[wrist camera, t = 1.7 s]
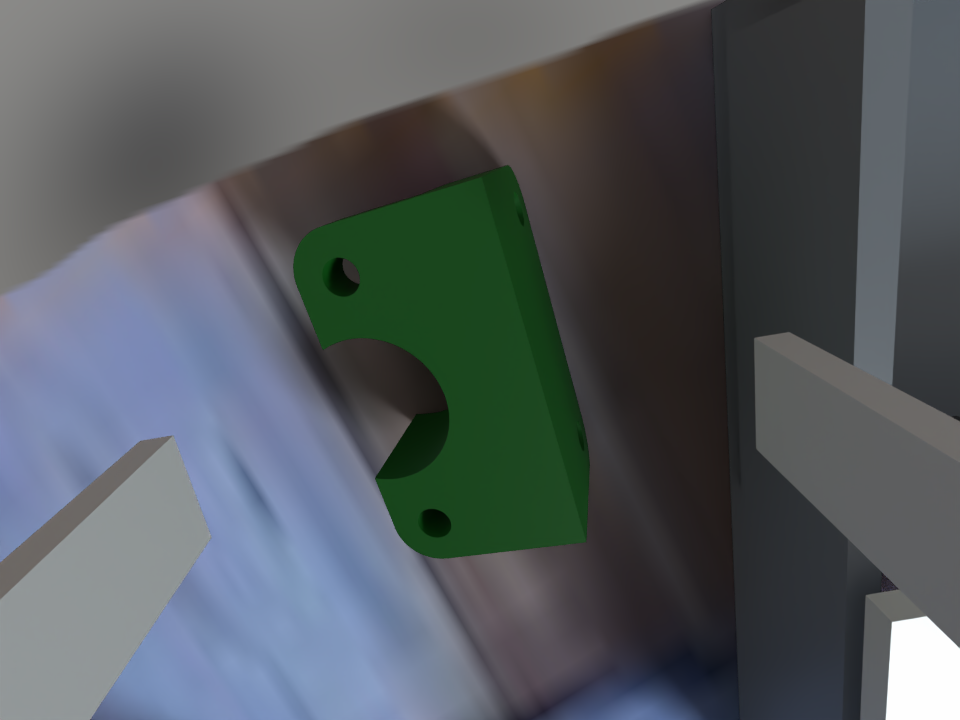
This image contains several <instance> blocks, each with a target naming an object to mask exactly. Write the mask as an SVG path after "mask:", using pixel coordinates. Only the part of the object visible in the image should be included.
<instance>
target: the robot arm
mask: <svg viewBox="0 0 960 720" xmlns="http://www.w3.org/2000/svg"><path fill="white" fill-rule="evenodd" d="M754 357H755V414H756V449H757V450H758V451H759V452H760V453H761V454H762V455H763V456H764V457H765V458H766V459H767V460H768V461H769V462H770V463H771V464H772V465H773V466H774V467H775V468H776V469H777V470H778V471H779V472H780V473H781V474H782V475H783V476H784V477H785V478H786V479H787V480H788V481H789V482H790V483H791V484H792V485H793V486H794V487H796V488H797V489H798V490H799V491H800V492H801V493H802V494H803V495H804V496H805V497H806V498H807V499H808V500H809V501H810V502H811V503H812V504H813V505H814V506H815V507H816V508H817V509H818V510H819V511H820V512H821V513H822V514H823V515H824V516H825V517H826V518H827V519H828V520H829V521H830V522H831V523H832V524H833V525H834V526H835V527H836V528H837V529H838V530H839V531H840V532H841V533H842V534H843V535H844V536H845V537H846V538H848V539H849V540H850V541H851V542H852V543H853V544H854V545H855V546H856V547H857V548H858V549H859V550H860V551H861V552H862V553H863V554H864V555H865V556H866V557H867V558H868V559H869V560H870V561H871V562H872V563H873V564H874V565H875V566H876V567H877V568H878V569H879V570H880V571H881V572H882V573H883V574H884V575H885V576H886V577H887V578H888V579H889V580H890V581H891V582H892V583H893V584H894V585H895V586H896V587H897V588H899V589H900V590H901V591H902V592H903V593H904V594H905V595H906V596H907V597H908V598H909V599H910V600H911V601H912V602H913V603H914V604H915V605H916V606H917V607H918V608H919V609H920V610H921V611H922V612H923V613H924V614H925V615H926V616H927V617H928V618H929V619H930V620H931V621H932V622H933V623H934V624H935V625H936V626H937V627H938V628H939V629H940V630H941V631H942V632H943V633H944V634H945V635H946V636H947V637H948V638H949V639H951V640H952V641H953V642H954V643H955V644H956V645H957V646H958V647H959V648H960V417H959V416H951V417H950V416H948V415H947V414H945V413H943V412H941V411H939V410H937V409H935V408H933V407H931V406H929V405H927V404H926V403H924V402H922V401H920V400H918V399H916V398H914V397H912V396H910V395H908V394H906V393H905V392H903V391H901V390H899V389H897V388H895V387H893V386H891V385H889V384H887V383H885V382H884V381H882V380H880V379H878V378H876V377H874V376H872V375H870V374H868V373H866V372H864V371H863V370H861V369H859V368H857V367H855V366H853V365H851V364H849V363H847V362H845V361H843V360H842V359H840V358H838V357H836V356H834V355H832V354H830V353H828V352H826V351H824V350H822V349H821V348H819V347H817V346H815V345H813V344H811V343H809V342H807V341H805V340H803V339H801V338H800V337H798V336H796V335H794V334H792V333H790V332H786V333H780V334H774V335H768V336H762V337H756V338H754ZM210 539H211V535H210V532H209V530H208V527H207V524H206V522H205V519H204V516H203V514H202V511H201V508H200V506H199V503H198V500H197V498H196V495H195V492H194V490H193V487H192V484H191V482H190V479H189V476H188V474H187V471H186V468H185V466H184V463H183V460H182V458H181V455H180V452H179V450H178V447H177V444H176V442H175V439H174V436H167V437H161V438H155V439H149V440H143V441H140V442H139V443H137V444H136V445H135V446H134V447H133V448H132V449H130V450H129V451H128V452H127V453H126V454H125V455H124V456H122V457H121V458H120V459H119V460H118V461H117V462H116V463H114V464H113V465H112V466H111V467H110V468H109V469H107V470H106V471H105V472H104V473H103V474H102V475H101V476H99V477H98V478H97V479H96V480H95V481H94V482H92V483H91V484H90V485H89V486H88V487H87V488H86V489H84V490H83V491H82V492H81V493H80V494H79V495H78V496H76V497H75V498H74V499H73V500H72V501H71V502H69V503H68V504H67V505H66V506H65V507H64V508H63V509H61V510H60V511H59V512H58V513H57V514H56V515H55V516H53V517H52V518H51V519H50V520H49V521H48V522H46V523H45V524H44V525H43V526H42V527H41V528H40V529H38V530H37V531H36V532H35V533H34V534H33V535H32V536H30V537H29V538H28V539H27V540H26V541H25V542H23V543H22V544H21V545H20V546H19V547H18V548H17V549H15V550H14V551H13V552H12V553H11V554H10V555H9V556H7V557H6V558H5V559H4V560H3V561H2V562H0V720H90V719H91V718H92V716H93V715H94V713H95V712H96V710H97V709H98V707H99V706H100V704H101V703H102V701H103V700H104V698H105V697H106V695H107V694H108V692H109V691H110V689H111V688H112V686H113V685H114V683H115V682H116V680H117V679H118V677H119V676H120V674H121V673H122V671H123V670H124V668H125V667H126V665H127V664H128V662H129V661H130V659H131V658H132V656H133V655H134V653H135V652H136V650H137V649H138V647H139V646H140V644H141V643H142V641H143V640H144V638H145V637H146V635H147V634H148V632H149V631H150V629H151V628H152V626H153V625H154V623H155V622H156V620H157V619H158V617H159V616H160V614H161V613H162V611H163V610H164V608H165V607H166V605H167V604H168V602H169V601H170V599H171V598H172V596H173V595H174V593H175V592H176V590H177V589H178V587H179V586H180V584H181V583H182V581H183V580H184V578H185V577H186V575H187V574H188V572H189V571H190V569H191V568H192V566H193V565H194V563H195V562H196V560H197V559H198V557H199V556H200V554H201V553H202V551H203V550H204V548H205V547H206V545H207V544H208V542H209V541H210Z"/></svg>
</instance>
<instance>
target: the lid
mask: <svg viewBox="0 0 960 720" xmlns="http://www.w3.org/2000/svg"><path fill="white" fill-rule="evenodd" d="M860 720H960V648H959V647H958V646H957V645H956V644H955V643H954V642H953V641H952V640H951V639H949V638H948V637H947V636H946V635H945V634H944V633H943V632H942V631H941V630H940V629H939V628H938V627H937V626H936V625H935V624H934V623H933V622H932V621H931V620H930V619H929V618H928V617H927V616H926V615H925V614H924V613H923V612H922V611H921V610H920V609H919V608H918V607H917V606H916V605H915V604H914V603H913V602H912V601H911V600H910V599H909V598H908V597H907V596H906V595H905V594H904V593H903V592H902V591H901V590H900V589H899V590H893V591H887V592H881V593H875V594H869V595H866V600H865V623H864V645H863V667H862V689H861V711H860Z"/></svg>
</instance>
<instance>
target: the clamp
mask: <svg viewBox="0 0 960 720" xmlns="http://www.w3.org/2000/svg"><path fill="white" fill-rule="evenodd" d="M343 258H344V259H347V260H349V261H350V262H352V263H353V264H354V265H355V267H356V268H357V270H358V272H359V276H360V284H357V283H355V282H353V281H351V280H350V279H349V278H348V277H347V276H346V274H345V272H344V270H343V265H342V262H343ZM293 270H294V278H295V282H296V285H297V288H298V290H299V292H300V295H301V297H302V300H303V302H304V305H305V307H306V310H307V312H308V315H309V317H310V320H311V322H312V324H313V327H314V329H315V332H316V334H317V337H318V339H319V342H320V344H321V347H322V349H323V350H324V349H326V348H327V347H329V346H331V345H333V344H335V343H337V342H340V341H343V340H348V339H355V338H370V339H377V340H381V341H385V342H388V343H391V344H394V345H396V346H398V347H401V348H402V349H404V350H406V351H408V352H409V353H411V354H412V355H414V356H415V357H416V358H417V359H419V360H420V361H421V362H422V363H423V364H424V365H425V366H426V367H427V368H428V369H429V370H430V371H431V373H432V374H433V375H434V377H435V378H436V380H437V381H438V383H439V384H440V386H441V388H442V390H443V393H444V395H445V398H446V401H447V405H448V409H447V410H444V411H441V412H436V413H428V414H416V416H415V417H414V419H413V420H412V422H411V423H410V425H409V426H408V428H407V429H406V431H405V433H404V434H403V436H402V437H401V439H400V440H399V442H398V443H397V445H396V447H395V448H394V450H393V451H392V453H391V454H390V456H389V457H388V459H387V461H386V462H385V464H384V465H383V467H382V468H381V470H380V471H379V473H378V474H377V476H376V478H375V479H376V482H377V484H378V487H379V489H380V492H381V494H382V497H383V499H384V502H385V504H386V507H387V509H388V511H389V514H390V516H391V519H392V521H393V524H394V526H395V529H396V531H397V533H398V535H399V536H400V537H401V539H402V540H403V541H404V542H405V543H406V544H407V545H408V546H409V547H410V548H412V549H413V550H415V551H416V552H418V553H420V554H423V555H425V556H428V557H432V558H441V559H444V558H454V557H463V556H471V555H480V554H489V553H497V552H506V551H515V550H523V549H532V548H540V547H549V546H558V545H566V544H575V543H583V542H586V537H587V515H588V493H589V471H590V462H589V451H588V444H587V438H586V433H585V428H584V424H583V420H582V416H581V412H580V409H579V405H578V401H577V397H576V394H575V390H574V386H573V383H572V379H571V375H570V371H569V368H568V364H567V360H566V356H565V353H564V349H563V345H562V342H561V338H560V334H559V330H558V327H557V323H556V319H555V315H554V312H553V308H552V304H551V301H550V297H549V293H548V289H547V286H546V282H545V278H544V274H543V271H542V267H541V263H540V260H539V256H538V252H537V248H536V245H535V241H534V237H533V233H532V230H531V226H530V222H529V218H528V215H527V211H526V207H525V204H524V200H523V197H522V193H521V190H520V187H519V184H518V182H517V179H516V177H515V175H514V172H513V171H512V169H511V167H510V166H508V165H507V166H503V167H500V168H497V169H494V170H491V171H487V172H484V173H481V174H478V175H474V176H471V177H468V178H465V179H462V180H458V181H455V182H452V183H449V184H446V185H443V186H441V187H438V188H435V189H433V190H430V191H428V192H425V193H423V194H420V195H417V196H414V197H411V198H407V199H404V200H401V201H398V202H394V203H391V204H388V205H385V206H382V207H378V208H375V209H372V210H369V211H365V212H362V213H359V214H356V215H353V216H349V217H346V218H343V219H340V220H337V221H335V222H332V223H329V224H327V225H324V226H321V227H319V228H316V229H314V230H313V231H311V232H310V233H308V234H307V235H306V236H305V237H304V238H303V239H302V241H301V242H300V244H299V246H298V248H297V250H296V253H295V257H294V264H293Z"/></svg>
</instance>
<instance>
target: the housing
mask: <svg viewBox="0 0 960 720" xmlns="http://www.w3.org/2000/svg"><path fill="white" fill-rule="evenodd" d="M711 14H712V39H713V64H714V89H715V114H716V139H717V164H718V189H719V214H720V239H721V264H722V289H723V314H724V339H725V363H726V388H727V413H728V438H729V463H730V488H731V513H732V538H733V563H734V588H735V613H736V638H737V663H738V688H739V713H740V720H860V711H861V689H862V667H863V645H864V623H865V600H866V595H869V594H875V593H881V581H882V572H881V571H880V570H879V569H878V568H877V567H876V566H875V565H874V564H873V563H872V562H871V561H870V560H869V559H868V558H867V557H866V556H865V555H864V554H863V553H862V552H861V551H860V550H859V549H858V548H857V547H856V546H855V545H854V544H853V543H852V542H851V541H850V540H849V539H848V538H846V537H845V536H844V535H843V534H842V533H841V532H840V531H839V530H838V529H837V528H836V527H835V526H834V525H833V524H832V523H831V522H830V521H829V520H828V519H827V518H826V517H825V516H824V515H823V514H822V513H821V512H820V511H819V510H818V509H817V508H816V507H815V506H814V505H813V504H812V503H811V502H810V501H809V500H808V499H807V498H806V497H805V496H804V495H803V494H802V493H801V492H800V491H799V490H798V489H797V488H796V487H794V486H793V485H792V484H791V483H790V482H789V481H788V480H787V479H786V478H785V477H784V476H783V475H782V474H781V473H780V472H779V471H778V470H777V469H776V468H775V467H774V466H773V465H772V464H771V463H770V462H769V461H768V460H767V459H766V458H765V457H764V456H763V455H762V454H761V453H760V452H759V451H758V450H757V449H756V414H755V357H754V338H756V337H762V336H768V335H774V334H780V333H786V332H790V333H792V334H794V335H796V336H798V337H800V338H801V339H803V340H805V341H807V342H809V343H811V344H813V345H815V346H817V347H819V348H821V349H822V350H824V351H826V352H828V353H830V354H832V355H834V356H836V357H838V358H840V359H842V360H843V361H845V362H847V363H849V364H851V365H853V366H855V367H857V368H859V369H861V370H863V371H864V372H866V373H868V374H870V375H872V376H874V377H876V378H878V379H880V380H882V381H884V382H885V383H887V384H889V385H891V386H893V387H895V388H897V389H899V390H901V391H903V392H905V393H906V394H908V395H910V396H912V397H914V398H916V399H918V400H920V401H922V402H924V403H926V404H927V405H929V406H931V407H933V408H935V409H937V410H939V411H941V412H943V413H945V414H947V415H948V416H950V417H951V416H959V417H960V0H726V1H724V2H723V3H721V4H719V5H718V6H716V7H715V8H713V9H711Z"/></svg>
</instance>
